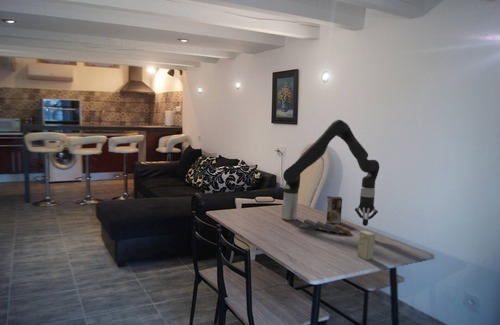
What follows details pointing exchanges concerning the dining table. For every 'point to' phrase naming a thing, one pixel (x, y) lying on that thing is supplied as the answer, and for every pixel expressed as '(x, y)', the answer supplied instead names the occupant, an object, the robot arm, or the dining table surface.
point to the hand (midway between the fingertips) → (364, 225)
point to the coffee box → (333, 209)
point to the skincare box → (366, 245)
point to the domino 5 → (342, 229)
